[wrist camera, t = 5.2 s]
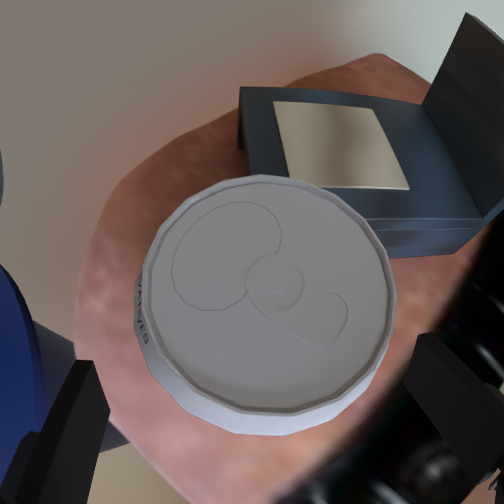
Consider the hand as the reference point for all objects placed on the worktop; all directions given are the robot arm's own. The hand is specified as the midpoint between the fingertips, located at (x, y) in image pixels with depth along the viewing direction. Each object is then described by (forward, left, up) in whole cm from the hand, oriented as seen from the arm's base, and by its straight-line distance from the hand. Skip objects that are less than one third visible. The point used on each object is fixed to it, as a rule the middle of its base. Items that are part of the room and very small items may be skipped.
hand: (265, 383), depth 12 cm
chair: (+11, +16, -10) cm, 22 cm away
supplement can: (0, +2, -10) cm, 11 cm away
